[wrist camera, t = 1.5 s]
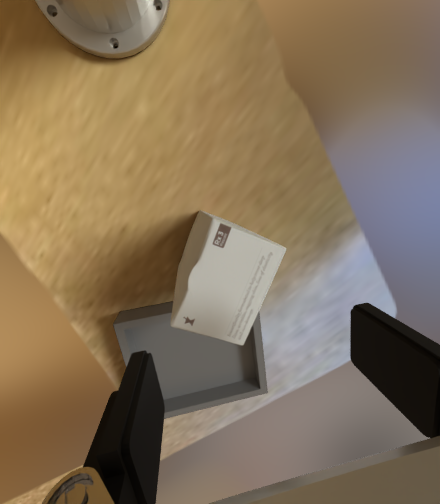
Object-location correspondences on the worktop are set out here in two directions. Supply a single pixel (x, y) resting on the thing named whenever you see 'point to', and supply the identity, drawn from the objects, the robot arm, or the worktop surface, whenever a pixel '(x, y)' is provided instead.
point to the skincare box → (223, 279)
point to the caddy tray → (193, 360)
